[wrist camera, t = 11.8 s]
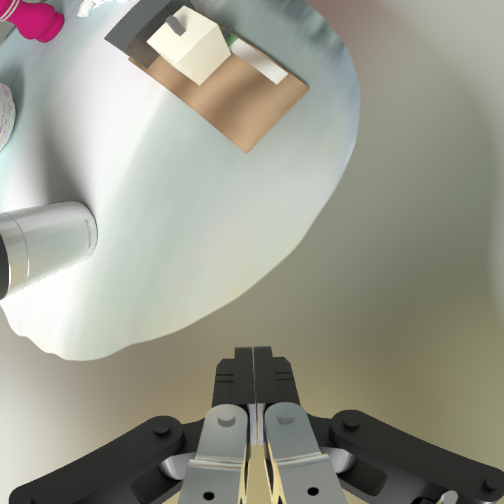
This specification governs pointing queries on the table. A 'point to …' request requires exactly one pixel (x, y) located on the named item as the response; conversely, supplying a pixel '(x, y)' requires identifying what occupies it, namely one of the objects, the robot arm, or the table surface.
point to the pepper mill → (32, 19)
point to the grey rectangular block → (143, 28)
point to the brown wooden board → (236, 91)
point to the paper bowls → (6, 114)
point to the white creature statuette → (91, 6)
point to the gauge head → (191, 44)
